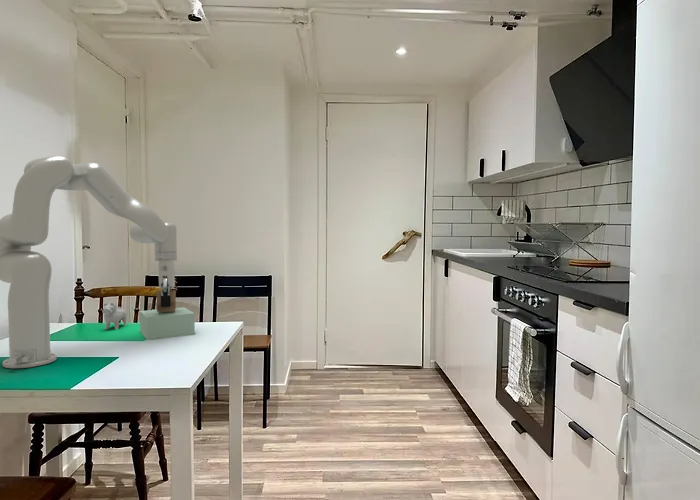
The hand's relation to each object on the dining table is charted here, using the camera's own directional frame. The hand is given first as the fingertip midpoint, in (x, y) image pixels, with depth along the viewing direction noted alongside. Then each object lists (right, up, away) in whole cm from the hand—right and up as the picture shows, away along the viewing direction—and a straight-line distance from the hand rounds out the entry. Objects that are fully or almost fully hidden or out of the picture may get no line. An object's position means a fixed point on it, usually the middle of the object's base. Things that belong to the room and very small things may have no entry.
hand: (166, 304), depth 168 cm
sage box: (0, -11, 0) cm, 11 cm away
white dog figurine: (-24, -10, +10) cm, 28 cm away
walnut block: (0, -2, 0) cm, 2 cm away
